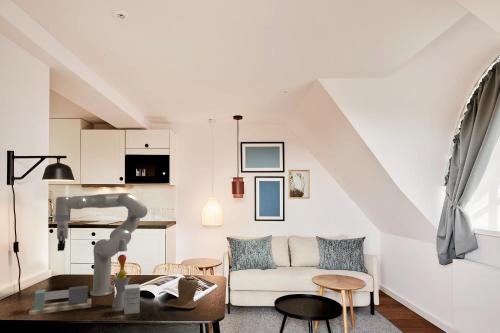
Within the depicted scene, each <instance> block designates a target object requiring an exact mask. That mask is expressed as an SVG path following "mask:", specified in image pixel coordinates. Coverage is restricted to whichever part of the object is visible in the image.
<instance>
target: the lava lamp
mask: <svg viewBox="0 0 500 333" xmlns="http://www.w3.org/2000/svg"><path fill="white" fill-rule="evenodd" d="M127 245H128V244H126V239H120V242H119V247H118V251H119V252H127V251H128V246H127ZM119 252H118V253H119ZM117 261H118V263H119V265H120V267H119V271H118V275H114V276H112V280H113V283H114V284H113V285H115V287H116V289H115V291H116V293H115V295H114V298H113V302H112V305H111V307H112V308H113V309H124V287H125V285H129V281H130V279H131V275H128V274H127V271H126V270H125V265H126V261H127V256H126V255H125V254H123V253H122V254H119V255H118V257H117Z"/></svg>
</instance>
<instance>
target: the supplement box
mask: <svg viewBox="0 0 500 333" xmlns="http://www.w3.org/2000/svg"><path fill="white" fill-rule="evenodd" d="M140 287H141V286H140V284H139V283H134V284H128V285H125V287H124V308H123V313H124V314H123V315H132V314H139V313H140V299H141V298H140V295H141V288H140Z"/></svg>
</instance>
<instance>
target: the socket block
mask: <svg viewBox="0 0 500 333" xmlns="http://www.w3.org/2000/svg"><path fill="white" fill-rule="evenodd" d="M45 292H46V289H45V288H44V289H43V288H42V289H36V291H35V293H34V300H33V301H34V302H33V303H34V304H33V306H34V310H42V309H44V306H45V304H46V302H45V301H46V300H44V293H45Z"/></svg>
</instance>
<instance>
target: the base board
mask: <svg viewBox="0 0 500 333" xmlns="http://www.w3.org/2000/svg"><path fill="white" fill-rule="evenodd" d="M92 304H93V303H92V298H88V300H87V303H85V304H77V305H69V306H68V301H61V302H60V301H59V302H52V303H45V306H44V309H42V310H34V305H31V306H30V307H29V310H28V316H32V315H33V316H34V315H41V314H48V313H49V314H50V313H56V312H63V311H71V310H79V309H80V310H81V309H87V308H92V306H93V305H92Z"/></svg>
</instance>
